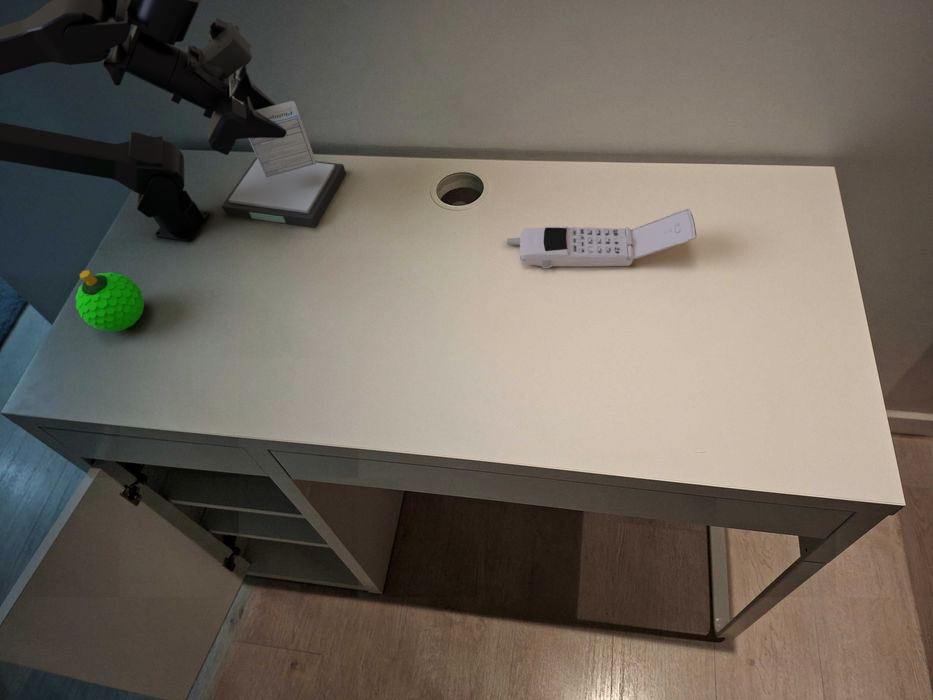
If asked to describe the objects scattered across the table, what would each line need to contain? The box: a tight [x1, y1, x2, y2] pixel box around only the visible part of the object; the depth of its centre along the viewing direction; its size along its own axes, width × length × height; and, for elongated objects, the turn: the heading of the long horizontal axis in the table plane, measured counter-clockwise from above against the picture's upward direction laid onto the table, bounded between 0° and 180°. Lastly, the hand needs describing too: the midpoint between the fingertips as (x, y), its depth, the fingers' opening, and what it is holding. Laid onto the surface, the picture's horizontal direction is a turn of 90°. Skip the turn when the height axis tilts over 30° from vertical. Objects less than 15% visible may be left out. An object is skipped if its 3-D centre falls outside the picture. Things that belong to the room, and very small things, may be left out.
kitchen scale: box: [221, 157, 347, 229], centre depth 97 cm, size 16×13×3 cm
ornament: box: [75, 269, 145, 333], centre depth 82 cm, size 8×8×10 cm
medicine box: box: [247, 100, 316, 178], centre depth 88 cm, size 8×4×9 cm, turn 108°
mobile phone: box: [506, 208, 697, 269], centre depth 82 cm, size 6×6×25 cm
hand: (284, 124), depth 87 cm, fingers closed on medicine box, 4 cm apart
